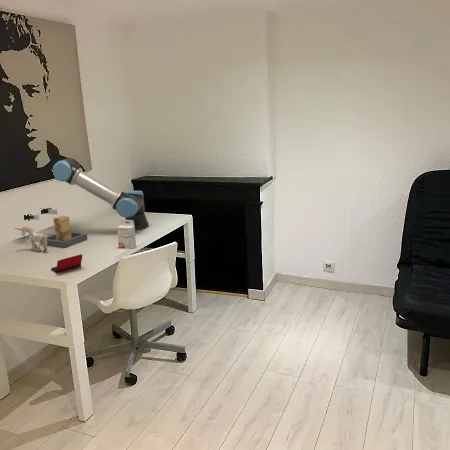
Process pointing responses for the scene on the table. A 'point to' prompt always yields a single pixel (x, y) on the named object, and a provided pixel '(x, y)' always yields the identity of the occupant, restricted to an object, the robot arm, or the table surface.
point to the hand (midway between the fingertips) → (48, 214)
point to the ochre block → (62, 228)
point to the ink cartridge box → (126, 234)
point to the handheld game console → (68, 264)
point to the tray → (63, 244)
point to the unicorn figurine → (35, 238)
